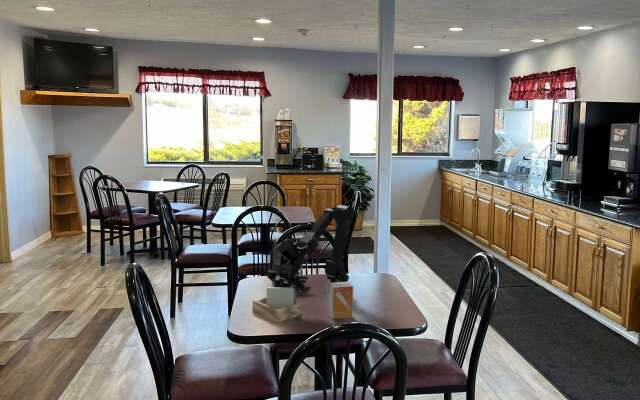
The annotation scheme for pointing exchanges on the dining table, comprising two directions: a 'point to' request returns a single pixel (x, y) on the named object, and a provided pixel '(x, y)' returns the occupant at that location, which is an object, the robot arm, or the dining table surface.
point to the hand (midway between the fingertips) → (273, 298)
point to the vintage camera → (281, 260)
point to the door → (281, 297)
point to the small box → (340, 300)
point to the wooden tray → (275, 310)
